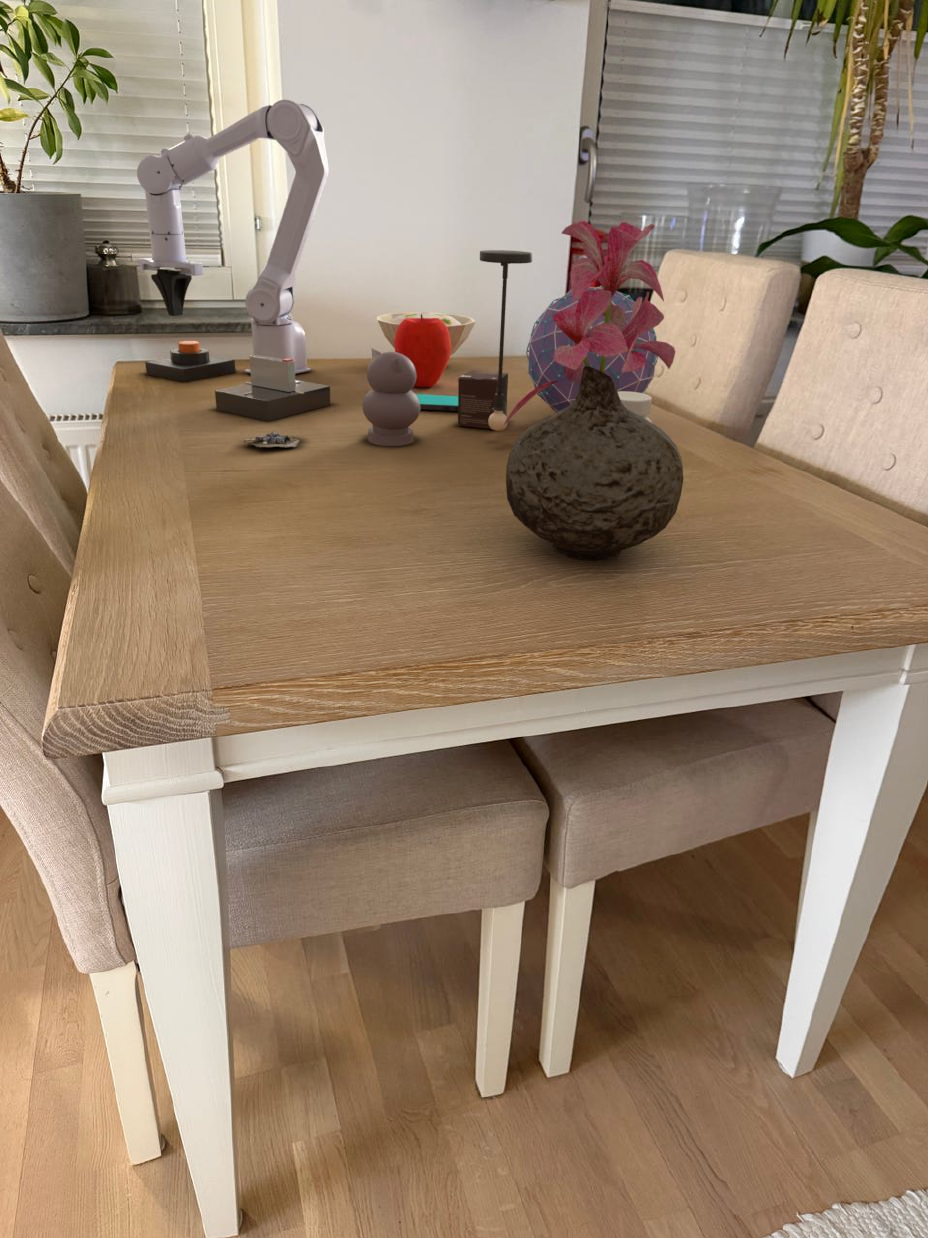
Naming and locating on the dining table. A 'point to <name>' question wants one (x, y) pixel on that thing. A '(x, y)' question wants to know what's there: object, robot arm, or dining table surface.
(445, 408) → the smartphone
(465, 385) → the box
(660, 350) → the vase
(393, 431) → the cat figurine
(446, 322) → the bowl
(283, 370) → the upright gray tile
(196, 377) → the control block
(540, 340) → the decorative sphere
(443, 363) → the apple
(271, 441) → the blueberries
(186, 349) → the button
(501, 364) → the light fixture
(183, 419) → the dining table surface
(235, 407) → the tile base
